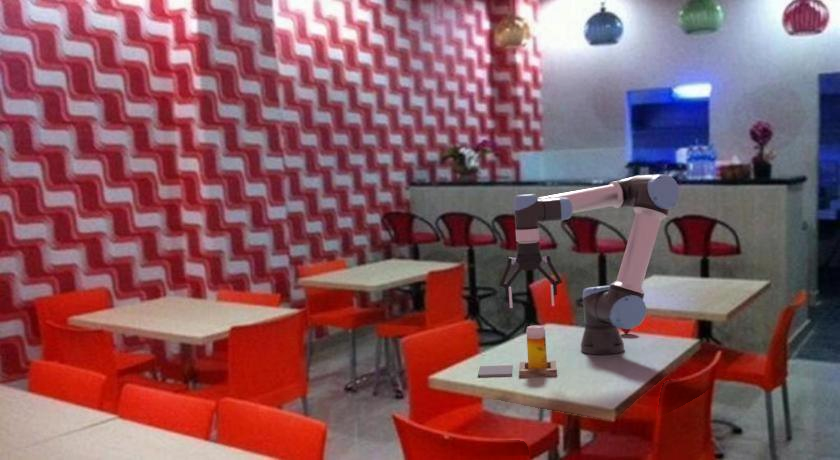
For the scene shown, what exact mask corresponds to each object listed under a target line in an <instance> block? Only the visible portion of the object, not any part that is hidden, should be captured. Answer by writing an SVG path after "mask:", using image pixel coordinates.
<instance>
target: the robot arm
mask: <svg viewBox="0 0 840 460" xmlns="http://www.w3.org/2000/svg"><path fill="white" fill-rule="evenodd" d="M680 195H681V190H680V187H679V185H678V182H677V181H676V180H675V178H673V177H672V176H671V175H667V174H663V173H661V174H660V173H655V174H638V175H634V176H630V177H627V178H623V179H619V180H616V181H615V180H614V181H611V182H610V183H608V185H607V184H606V185H602V186H597V187H591V188H586V189H585V188H584V189H578V190H574V191H568V192H562V193H557V194H551V195H545V196H539V197H538V196H537V194H535V193H530V194H529V193H528V194H518V195H515V196H514V199H513V211H514V222H515V223H514V224H515V225H514V226H515V242H517V243H516V257H508V258H507V265H506V267H505V270H504V272H503V275H502V277H501V279H500V281H499V286H500V287H502V288H504V290H505V291H504V292H505V298H509V299H508V301H509V308H510V309H513V294H512V286H511V284H512V283H513V282H514V280H515V279H516V278H517V276H518V275H519V274H520V273H521V271H522V270H523V271H525V272H526V271H535V270H538V271H539V272H540V273H541V274H542V275H543V276H544V277H545V278H546V279H547V280H548V282H549V283H551V284H550V295H551V297H550V298H551V307H555V297H554V296H557V295H558V285H560V284H562V283H563V279H562V278H561V276H560V274H559V273H558V271H557V269H556V267H555V266H554V264H553V263H552V261H551V260H552V259H551V256H550V254H547V255H544V256H542V255H541V243H540V242H539V241H540V229H539V228H540V226H539V224H540V223H545V222H557V221H560V222H562V221H565V220H569V219H570V218H572V216H573V214H575V213H580V212H586V211H592V210H599V209H604V208H609V207H612V208H615V209H620V208H632V210H633V211H634V213H635V216H634V220H633V223H632V225H631V226H632V227H631V229H630V233H629V236H628V240H627V243H626V247H625V251H624V253H623V257H622V261H621V264H620V267H619V271H618V274H617V278H616V280H615V281H613V282H612V283H610V285H599V286H591V287H586V288H584V289H583V291H582V307H583V308H582V309H583V320H584V331H583V333H582V334H583V335H582V338H581V342H580V351H581V352H582V353H584V354H588V355H599V356H600V355H601V356H603V355H615V354H618V353H622V352H624V351H625V343H624V341H623V338H622V335H621V332H620V330H621V329H631V330H632V329H635V328H637V327H638V326H640V325H641V324H642V322H644V320H645V317H646V314H647V306H646V303H645V301H644V296H645V292H644V290H643V288H642V287H643V285H644V281H645V277H646V274H647V269H648V266H649V265H650V264H649V263H650V260H651V257H652V253H653V250H654V246H655V243H656V239H657V236H658V233H659V228H660V226H661V222H662V221H663V220H664V219H667V217H668V215H669V211H670V209H672V208H674V207H675V206H676V205H677V204H678V202H679V200H680V197H681V196H680ZM543 261H544V263H547V266H548V267H549V268H550V271H551V272H552V274H553V275H554V278H555V279H556V280H555V279H554V278H553V277H552V276H551V275H550V274H549V273H548V272H547V271H546V269H545V268H544V267H543V266H542V265H541V263H542V262H543ZM515 263H517V264H518V267H517V268H516V270H515V271H514V273H513V274H512V275H511V276H510V278H509V279H508V280H507V282H506V279H507V276H508V274H509V272H510V270H511V267H512V265H514V264H515ZM620 328H621V329H620ZM619 329H620V330H619Z"/></svg>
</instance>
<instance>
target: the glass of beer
mask: <svg viewBox="0 0 840 460" xmlns="http://www.w3.org/2000/svg"><path fill="white" fill-rule="evenodd" d="M525 331H526V349H527V362H528V367H529V369H548V368H547V361H548V359H547V358H548V357H547V341H546V329H545V327H544V325H540V324H534V325H532V324H531V325H529V326H527V327H526V330H525Z"/></svg>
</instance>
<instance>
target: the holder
mask: <svg viewBox="0 0 840 460" xmlns="http://www.w3.org/2000/svg"><path fill="white" fill-rule="evenodd" d="M518 365H519V368H518V373H519V374H518V375H519V376H518V377H519V378H533V377H534V378H535V377H536V378H537V377H540V378H541V377H557V376H558V370H557V361H556V360H547V369H529V367H528V361H519V364H518Z"/></svg>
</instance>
